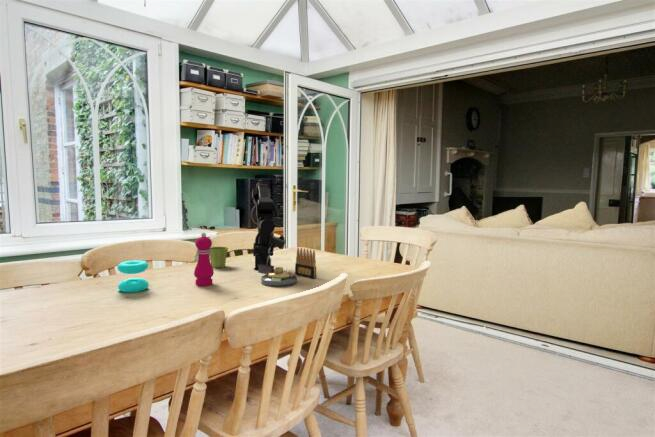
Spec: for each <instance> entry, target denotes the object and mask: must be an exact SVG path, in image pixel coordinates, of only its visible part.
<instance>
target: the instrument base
mask: <svg viewBox="0 0 655 437" xmlns="http://www.w3.org/2000/svg"><path fill="white" fill-rule="evenodd" d="M297 279H298V277H297V275H295V274H291V277H290V278H288V279H281V278H272V279H270V278H268V274H264V275H262V276H261V281H260V282H261V284H262V285H264V286H265V287H271V288H272V287H273V288H285V287H286V288H287V287H292V286H295V285H296V284H297V282H298V280H297Z"/></svg>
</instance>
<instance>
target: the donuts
mask: <svg viewBox="0 0 655 437" xmlns="http://www.w3.org/2000/svg"><path fill="white" fill-rule="evenodd" d="M148 268H149V264H148V262H147V261H145V260H134V259H133V260H125V261H123V262H120V263H119V264H118V265H117V270H118V272H120V273H122V274H126V275H136V274H140V273H143V272H145V271H147V270H148ZM148 287H149V281H147V279H145V278H142V277H141V278H140V277H139V278H138V277H132V278H127V279H124V280H122V281H120V282H119V283H118V285H117V289H118V290H119V291H120V292H122V293H138V292H143V291H144V290H146V289H148Z"/></svg>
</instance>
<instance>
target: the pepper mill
mask: <svg viewBox="0 0 655 437" xmlns="http://www.w3.org/2000/svg"><path fill="white" fill-rule="evenodd" d="M195 247H196V251H197V252H196V253H197V255H198V256H197V258H198V259H197V262H196V266H195V267H194V271H193V272H194V273H193V275H194V277H195V278H196V279H195V285H196V286H198V287H208V286H212V284H213V276H214V273H215V272H214V268H213V267H212V265H211V260H210V254H209V253H211V252H210V247H213V243H212V239H211V238H210V237H207V234H206V233H205V232H202V233H201V234H200V236H199V237H198V238H197V239H196V240H195Z"/></svg>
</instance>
